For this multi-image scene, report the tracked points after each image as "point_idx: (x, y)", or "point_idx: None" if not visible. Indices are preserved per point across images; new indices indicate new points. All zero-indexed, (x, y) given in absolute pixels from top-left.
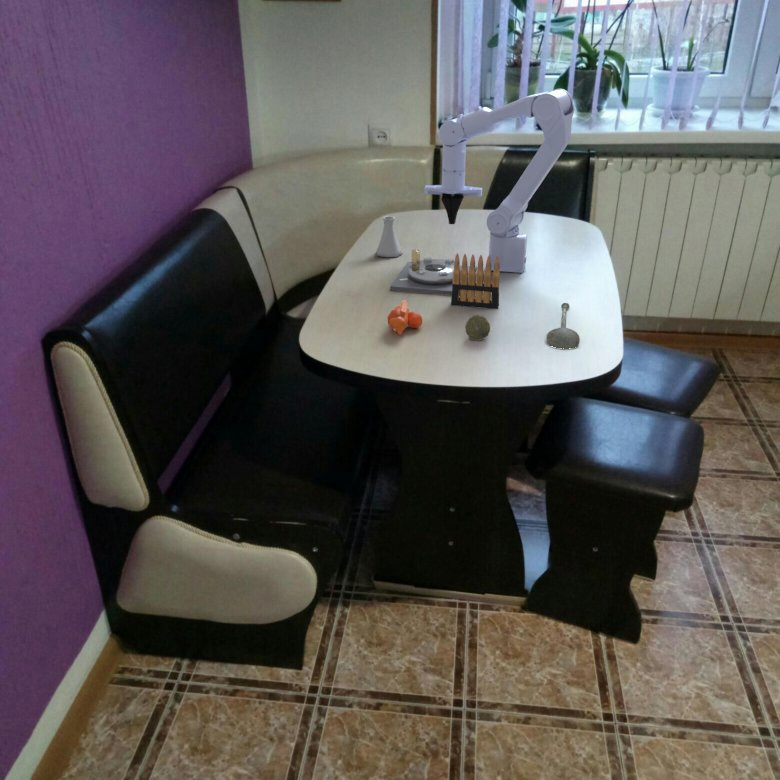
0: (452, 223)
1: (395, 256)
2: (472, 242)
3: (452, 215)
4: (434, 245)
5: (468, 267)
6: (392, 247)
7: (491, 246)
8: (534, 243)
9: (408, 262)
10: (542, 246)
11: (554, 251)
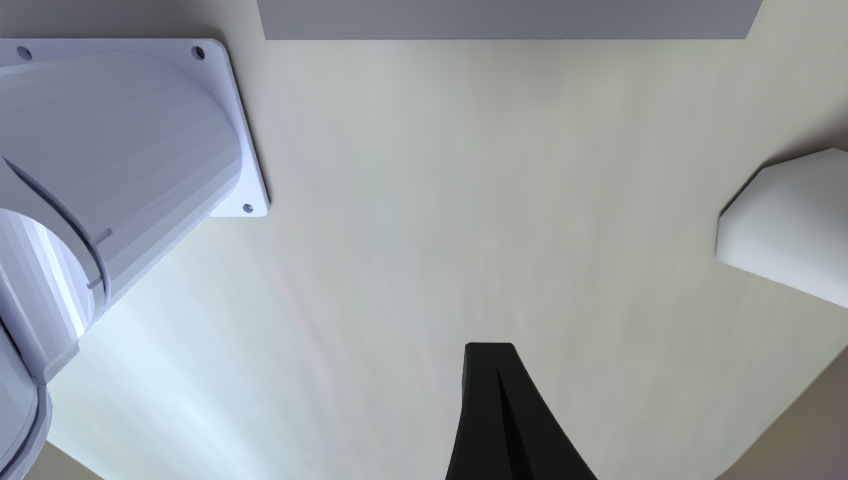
0: (482, 347)
1: (774, 166)
2: (405, 378)
3: (496, 415)
4: (548, 336)
5: (311, 3)
6: (833, 197)
7: (105, 122)
8: (197, 396)
9: (744, 17)
10: (156, 379)
11: (87, 347)
